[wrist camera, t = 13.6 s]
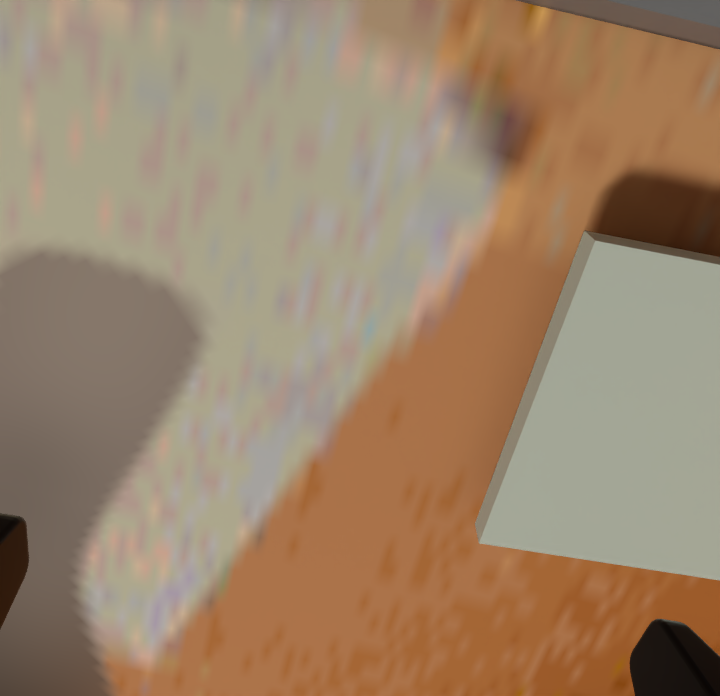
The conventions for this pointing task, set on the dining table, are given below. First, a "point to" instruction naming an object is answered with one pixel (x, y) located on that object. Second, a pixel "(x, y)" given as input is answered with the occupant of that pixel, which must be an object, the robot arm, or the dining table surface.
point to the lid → (620, 417)
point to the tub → (651, 16)
